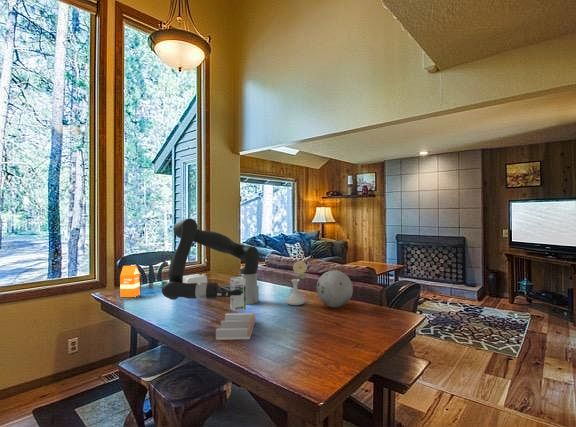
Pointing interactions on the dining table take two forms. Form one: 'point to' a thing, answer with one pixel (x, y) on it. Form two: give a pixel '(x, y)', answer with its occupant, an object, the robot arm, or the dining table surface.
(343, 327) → the dining table surface
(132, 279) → the orange juice
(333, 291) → the moon model
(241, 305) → the syrup box
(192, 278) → the cable organizer
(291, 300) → the flower in vase
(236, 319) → the divided tray
